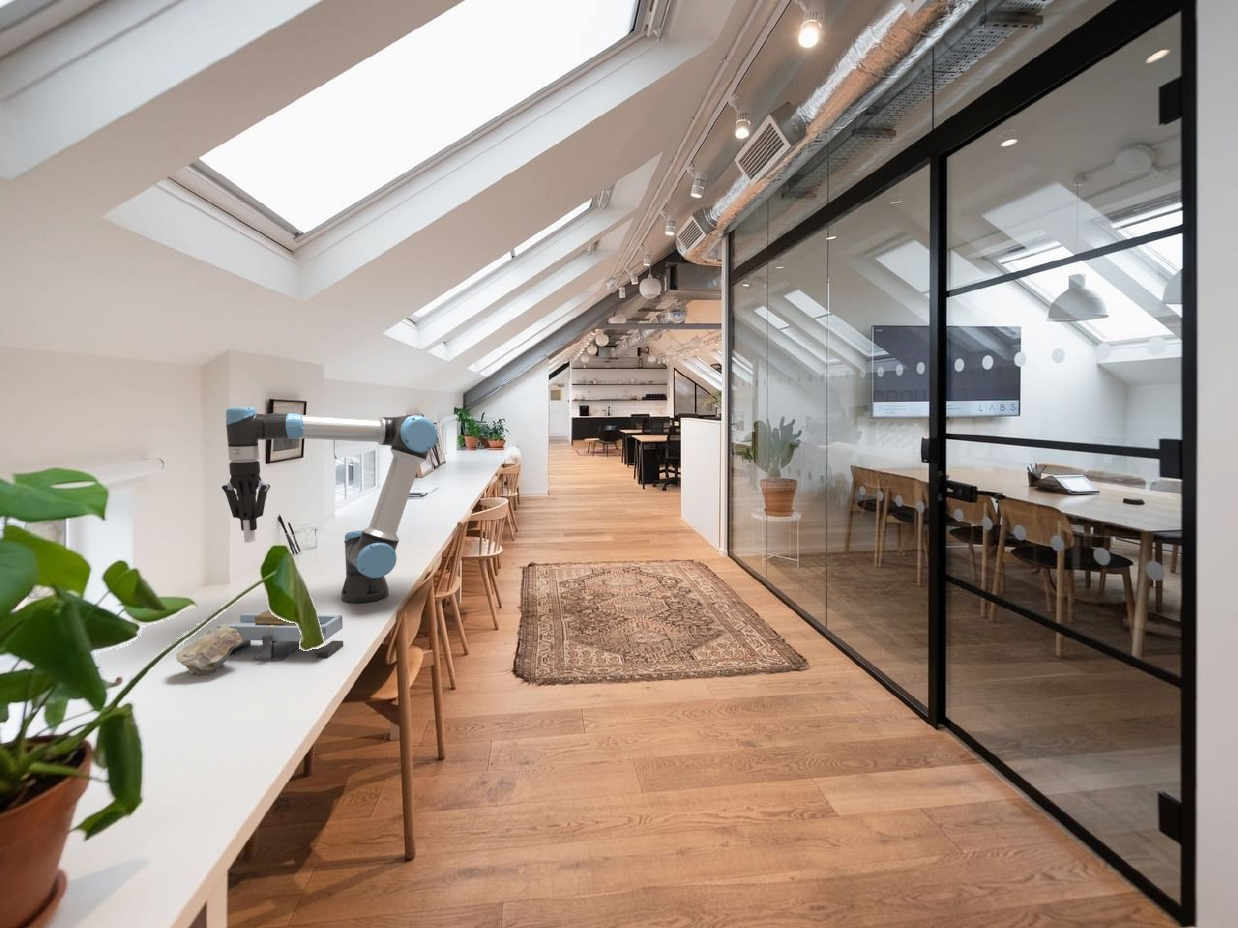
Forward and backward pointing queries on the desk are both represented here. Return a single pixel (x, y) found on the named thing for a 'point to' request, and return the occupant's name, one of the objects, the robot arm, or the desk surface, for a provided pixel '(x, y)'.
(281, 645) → the fulcrum
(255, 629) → the beam
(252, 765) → the desk surface
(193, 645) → the stone
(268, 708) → the desk surface
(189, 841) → the desk surface
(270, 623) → the brown wooden block
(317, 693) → the desk surface
